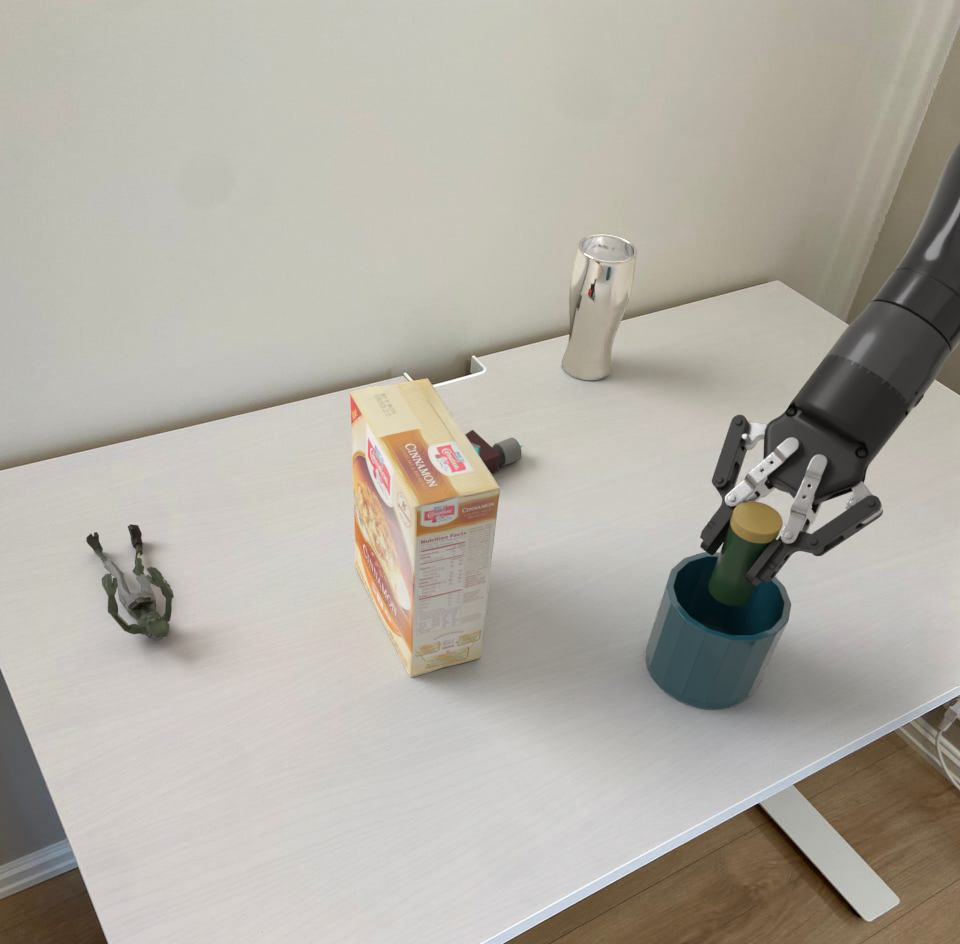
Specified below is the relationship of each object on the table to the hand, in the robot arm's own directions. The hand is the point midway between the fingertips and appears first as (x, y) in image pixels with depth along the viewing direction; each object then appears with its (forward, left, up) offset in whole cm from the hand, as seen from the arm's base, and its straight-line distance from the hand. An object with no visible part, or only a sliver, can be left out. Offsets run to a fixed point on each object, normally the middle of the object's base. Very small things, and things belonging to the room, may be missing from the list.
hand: (728, 565), depth 75 cm
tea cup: (-1, -2, -13) cm, 14 cm away
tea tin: (-1, -2, -4) cm, 4 cm away
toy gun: (+29, -21, -14) cm, 38 cm away
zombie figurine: (+48, +11, -14) cm, 52 cm away
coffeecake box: (+25, +2, -14) cm, 29 cm away
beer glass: (+21, -44, -14) cm, 50 cm away
